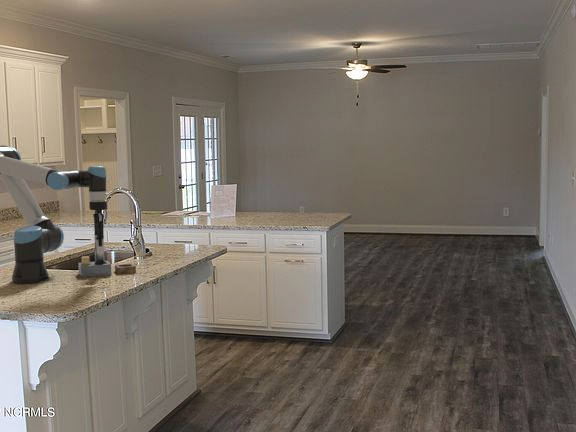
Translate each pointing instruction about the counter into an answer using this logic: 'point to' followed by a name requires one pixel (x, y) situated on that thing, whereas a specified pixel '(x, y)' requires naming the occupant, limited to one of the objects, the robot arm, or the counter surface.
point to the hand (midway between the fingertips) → (99, 252)
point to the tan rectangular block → (85, 260)
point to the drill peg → (99, 257)
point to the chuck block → (94, 269)
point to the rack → (125, 269)
